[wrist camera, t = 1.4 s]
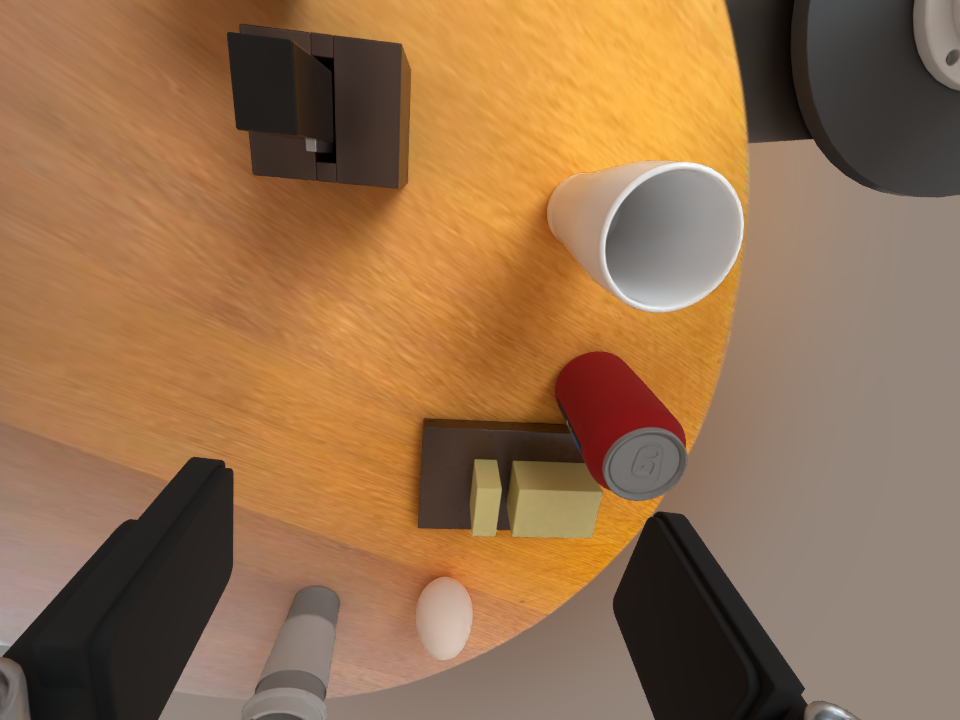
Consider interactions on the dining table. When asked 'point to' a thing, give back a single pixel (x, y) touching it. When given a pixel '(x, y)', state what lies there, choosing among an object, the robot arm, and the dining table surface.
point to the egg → (444, 618)
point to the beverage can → (621, 427)
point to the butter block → (552, 500)
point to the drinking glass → (650, 230)
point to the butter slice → (485, 498)
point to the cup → (298, 661)
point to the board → (464, 441)
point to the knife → (282, 91)
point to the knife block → (348, 115)
